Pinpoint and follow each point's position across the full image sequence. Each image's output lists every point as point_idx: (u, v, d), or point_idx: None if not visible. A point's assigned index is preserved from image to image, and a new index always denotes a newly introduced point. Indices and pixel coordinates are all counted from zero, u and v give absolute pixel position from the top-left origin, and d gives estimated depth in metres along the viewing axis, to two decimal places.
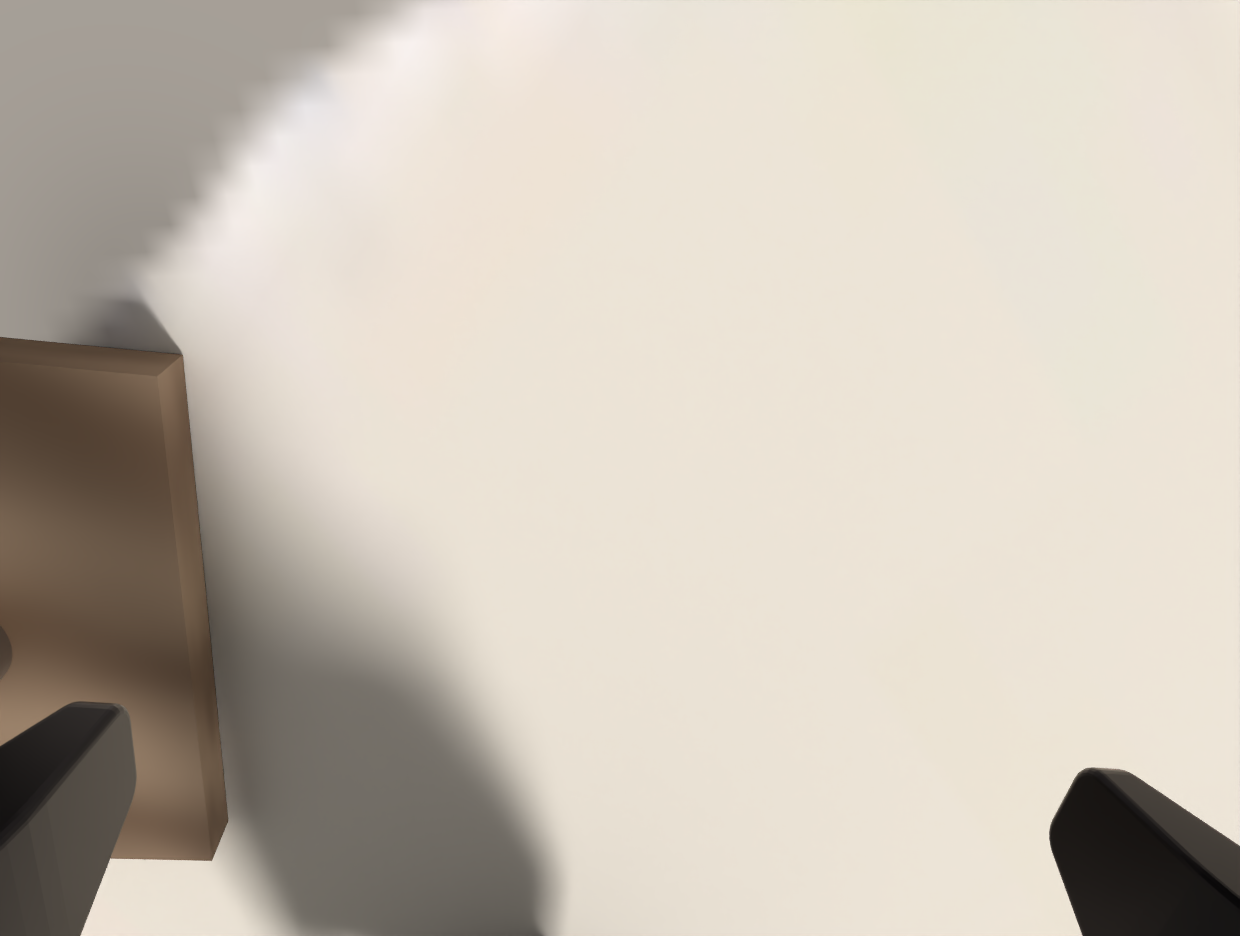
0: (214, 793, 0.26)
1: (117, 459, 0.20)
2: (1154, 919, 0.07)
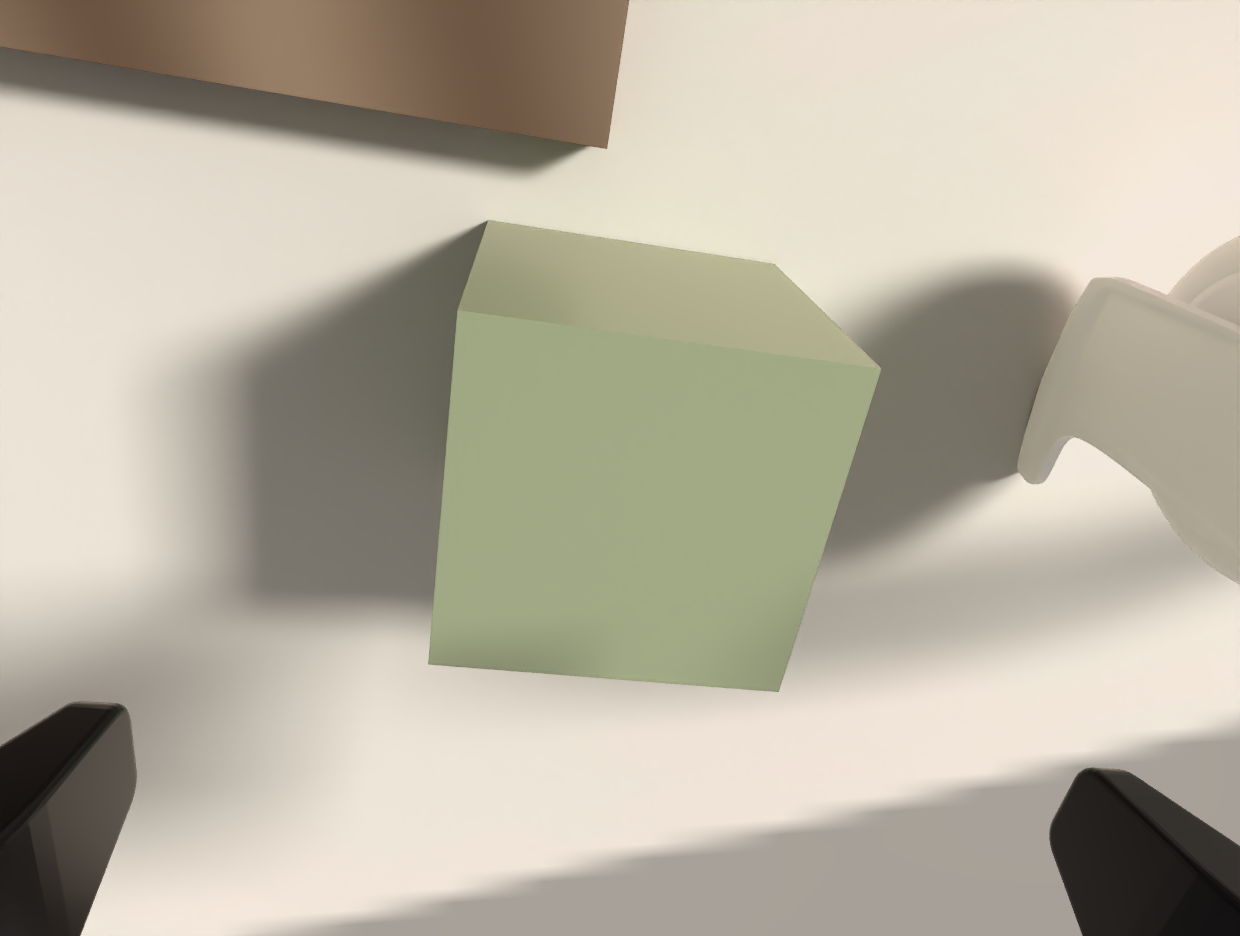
0: None
1: None
2: (1154, 919, 0.07)
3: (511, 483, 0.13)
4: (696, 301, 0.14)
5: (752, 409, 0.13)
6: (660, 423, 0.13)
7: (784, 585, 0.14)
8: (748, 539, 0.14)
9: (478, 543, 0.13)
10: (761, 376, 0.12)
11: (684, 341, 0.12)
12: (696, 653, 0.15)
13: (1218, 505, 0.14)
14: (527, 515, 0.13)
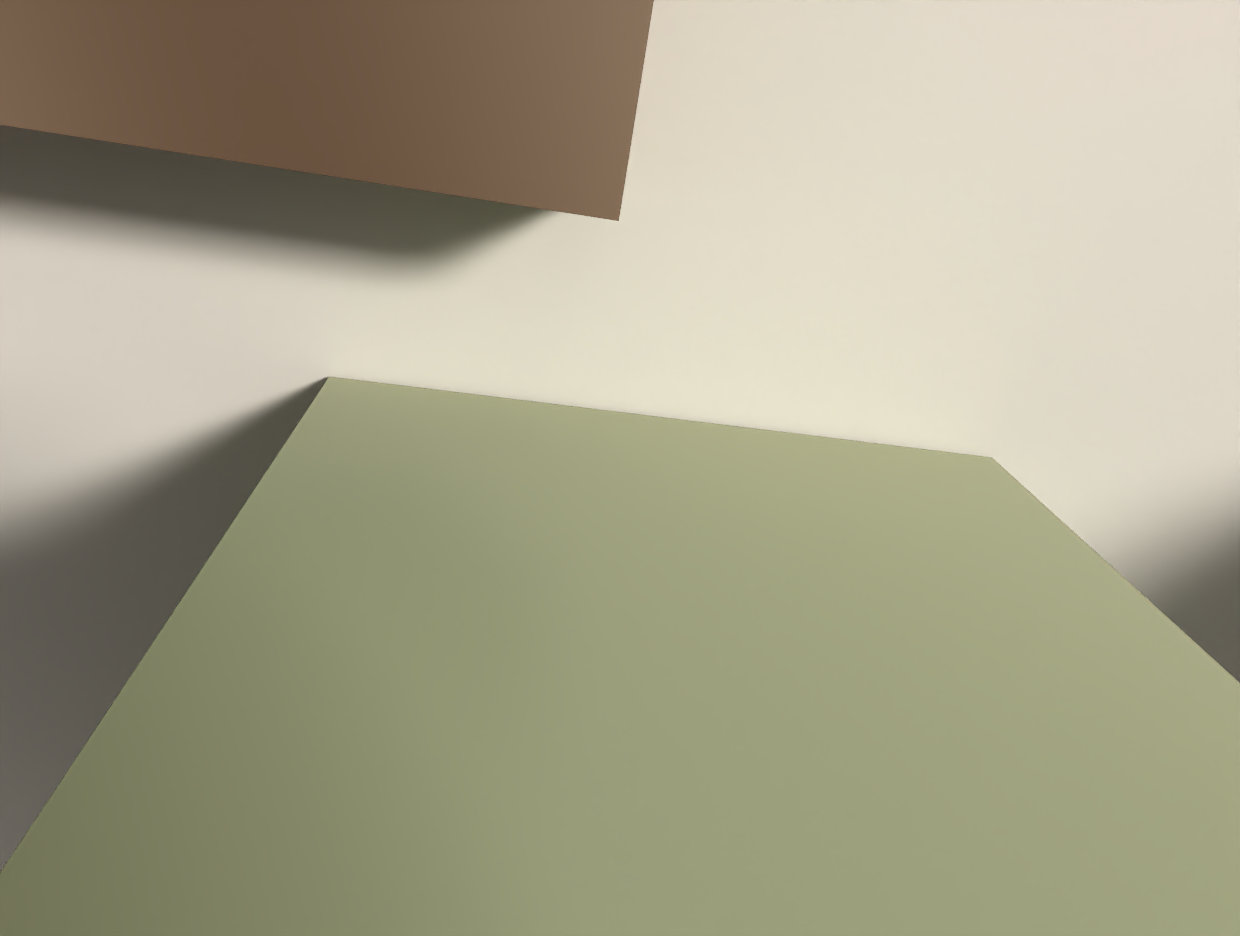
0: None
1: None
2: None
3: None
4: (943, 785, 0.04)
5: None
6: None
7: None
8: None
9: None
10: None
11: None
12: None
13: None
14: None
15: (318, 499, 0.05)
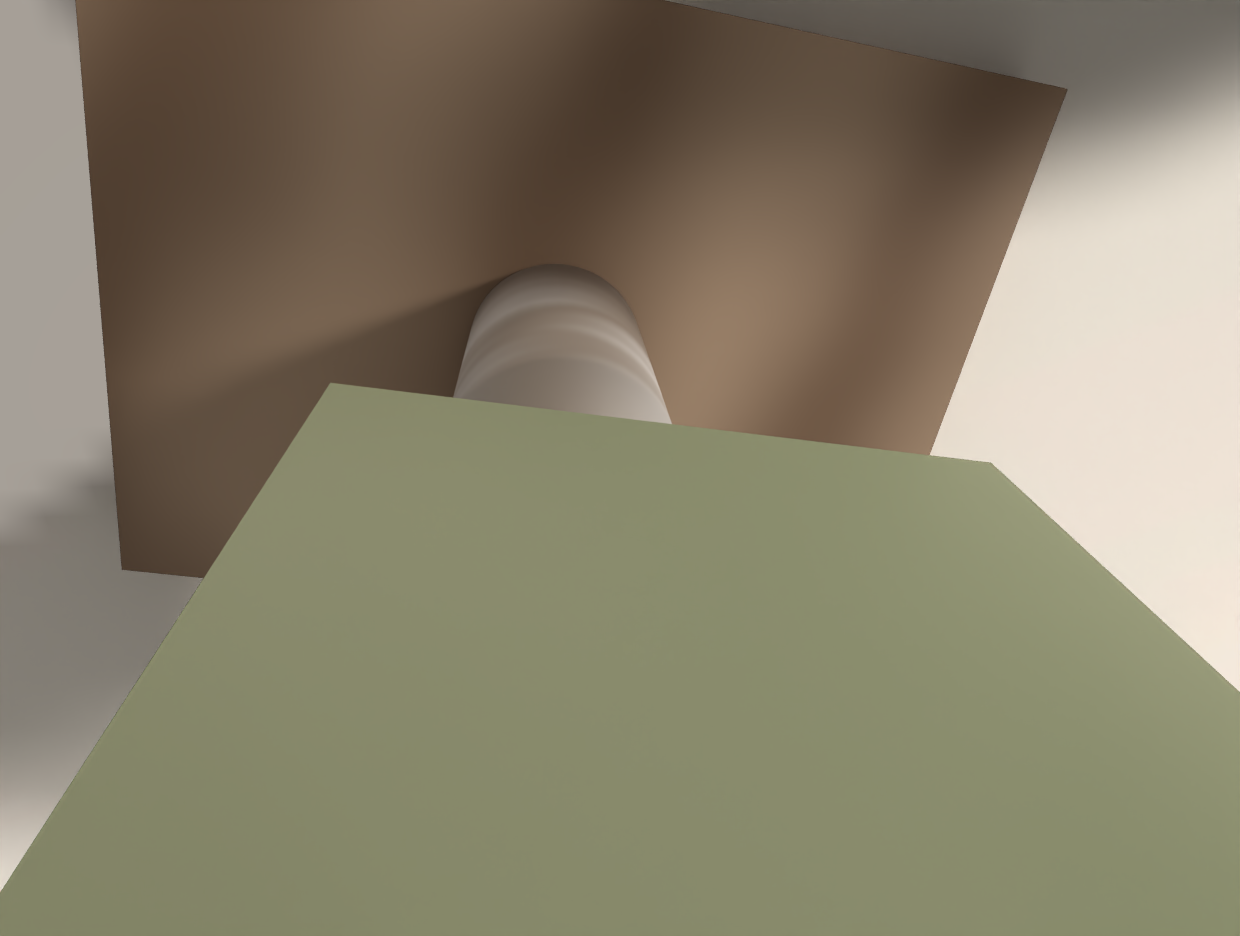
0: None
1: None
2: None
3: None
4: (942, 793, 0.04)
5: None
6: None
7: None
8: None
9: None
10: None
11: None
12: None
13: None
14: None
15: (320, 507, 0.05)
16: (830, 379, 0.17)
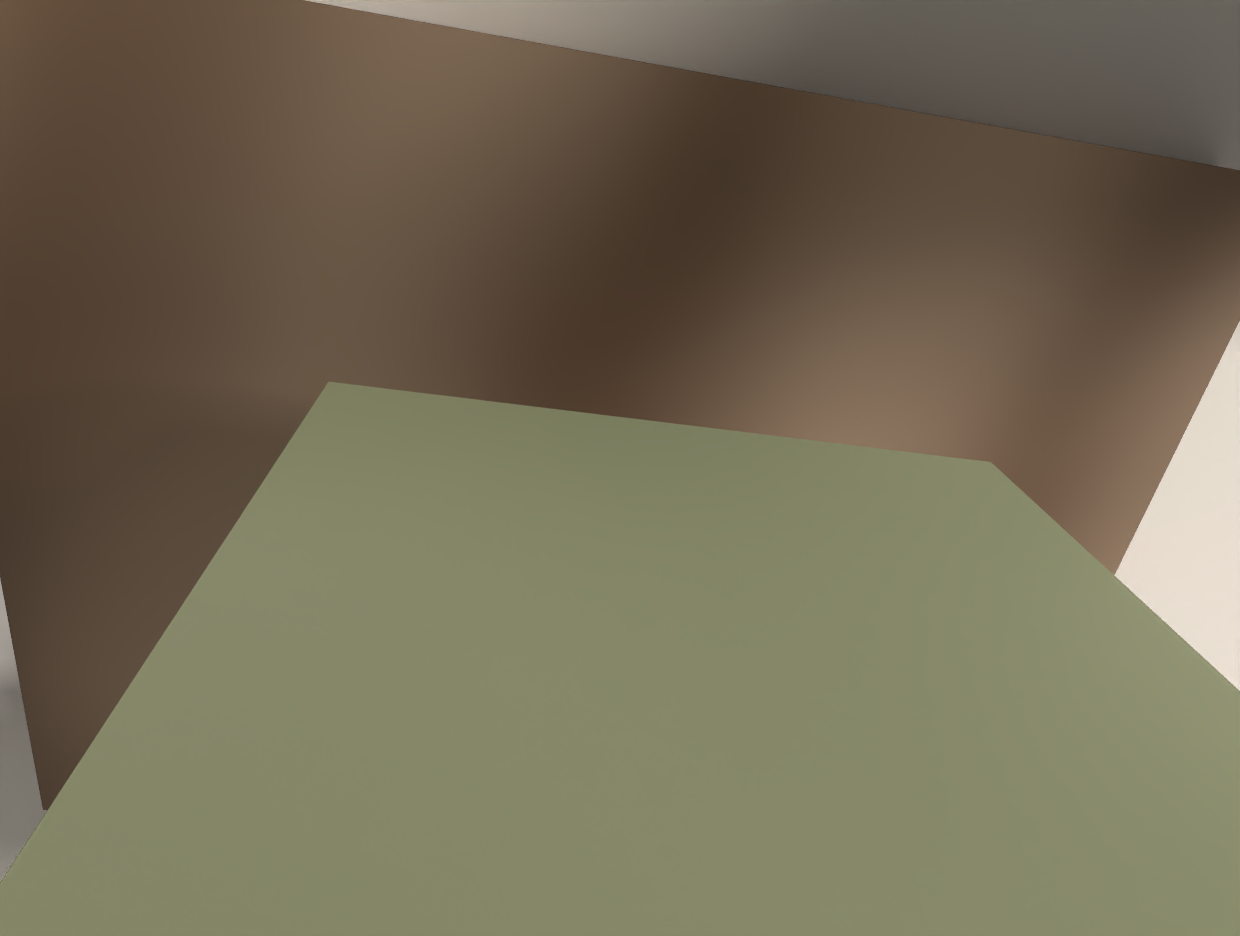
0: None
1: (133, 86, 0.09)
2: None
3: None
4: (941, 793, 0.04)
5: None
6: None
7: None
8: None
9: None
10: None
11: None
12: None
13: None
14: None
15: (317, 506, 0.05)
16: None
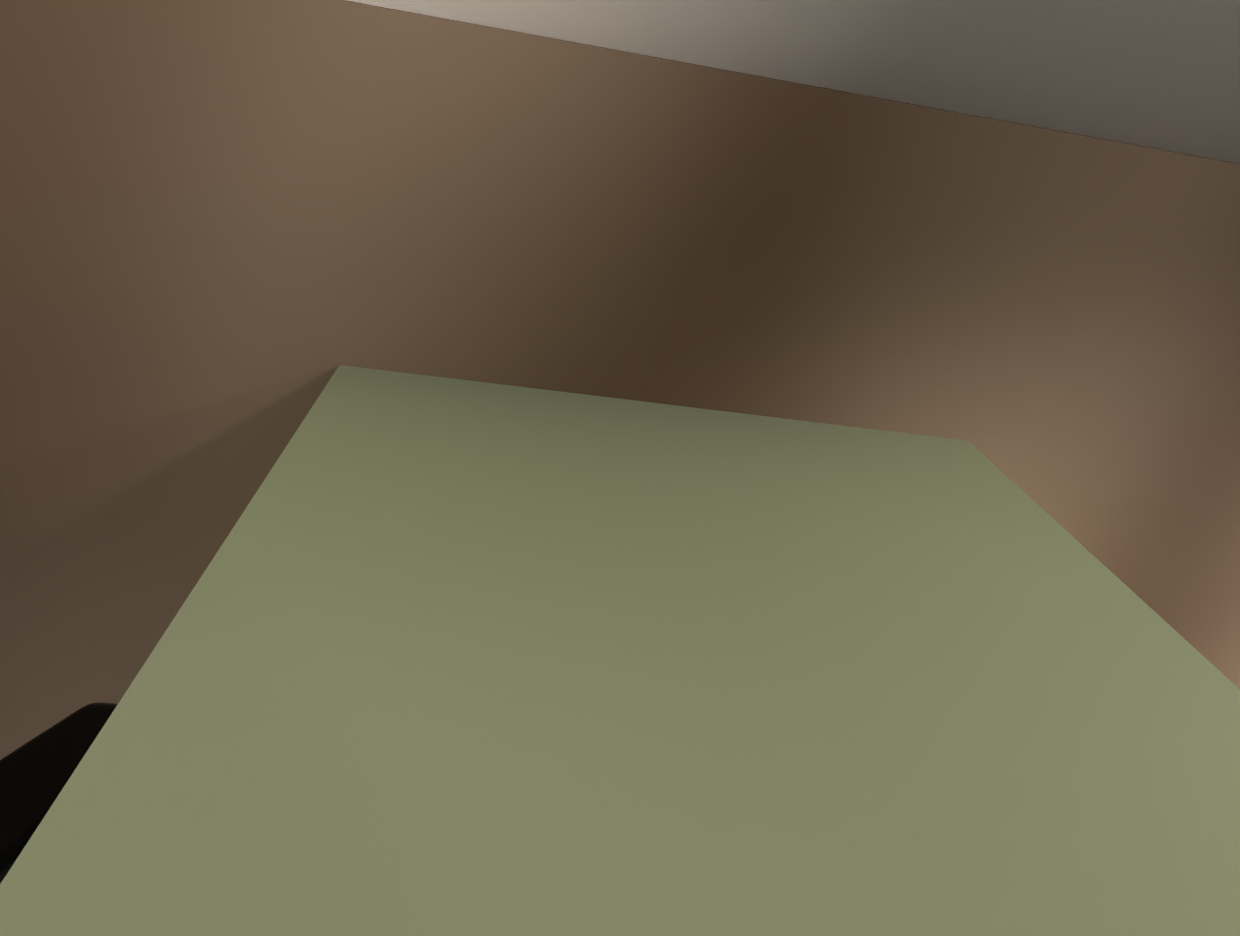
0: None
1: None
2: None
3: None
4: (902, 721, 0.04)
5: None
6: None
7: None
8: None
9: None
10: None
11: None
12: None
13: None
14: None
15: (333, 474, 0.06)
16: None
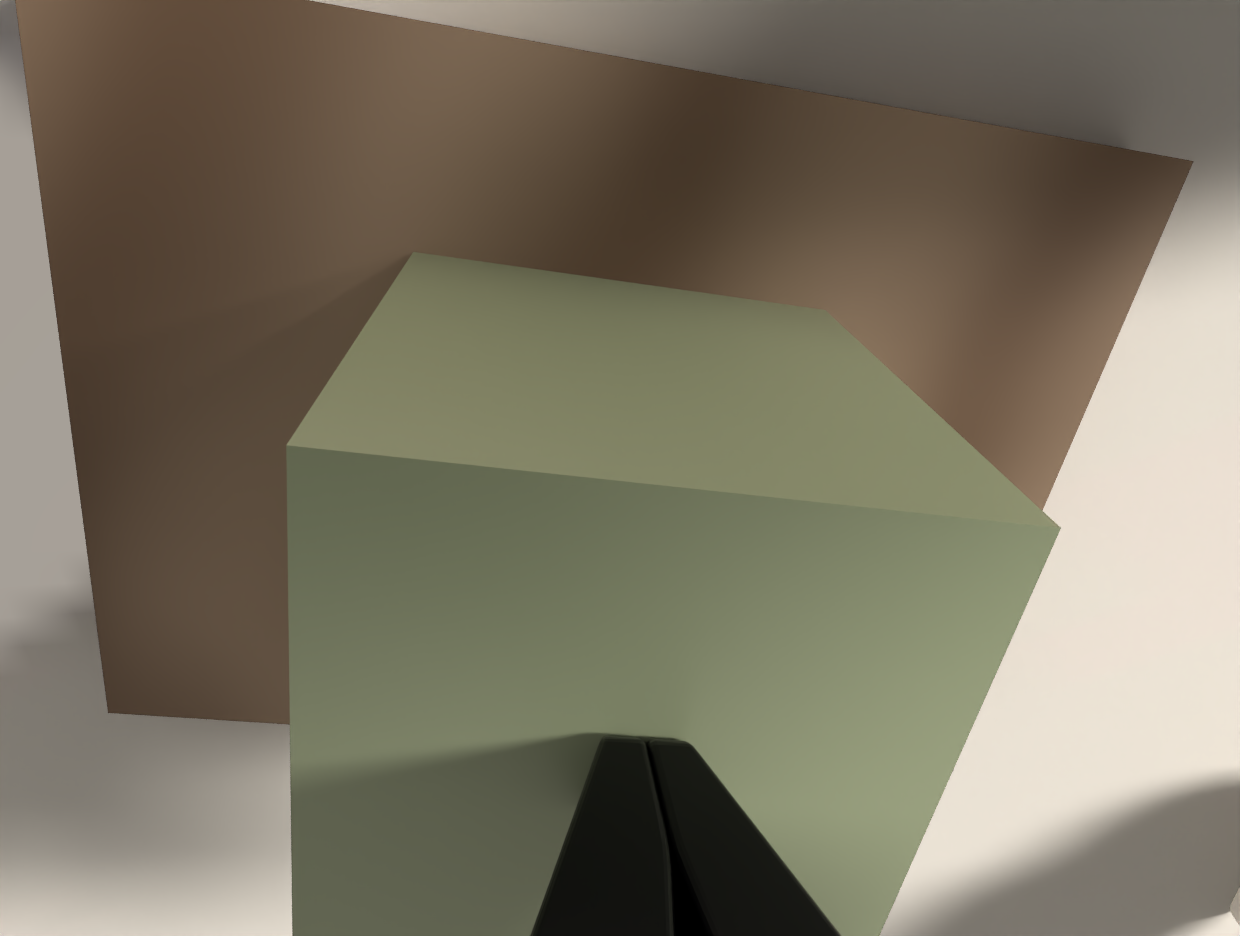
0: None
1: (207, 78, 0.11)
2: None
3: (410, 723, 0.07)
4: (723, 390, 0.09)
5: (830, 598, 0.07)
6: (668, 623, 0.07)
7: (871, 853, 0.09)
8: (815, 792, 0.08)
9: (360, 812, 0.08)
10: (848, 545, 0.07)
11: (711, 490, 0.07)
12: None
13: None
14: (441, 770, 0.08)
15: (422, 294, 0.10)
16: None
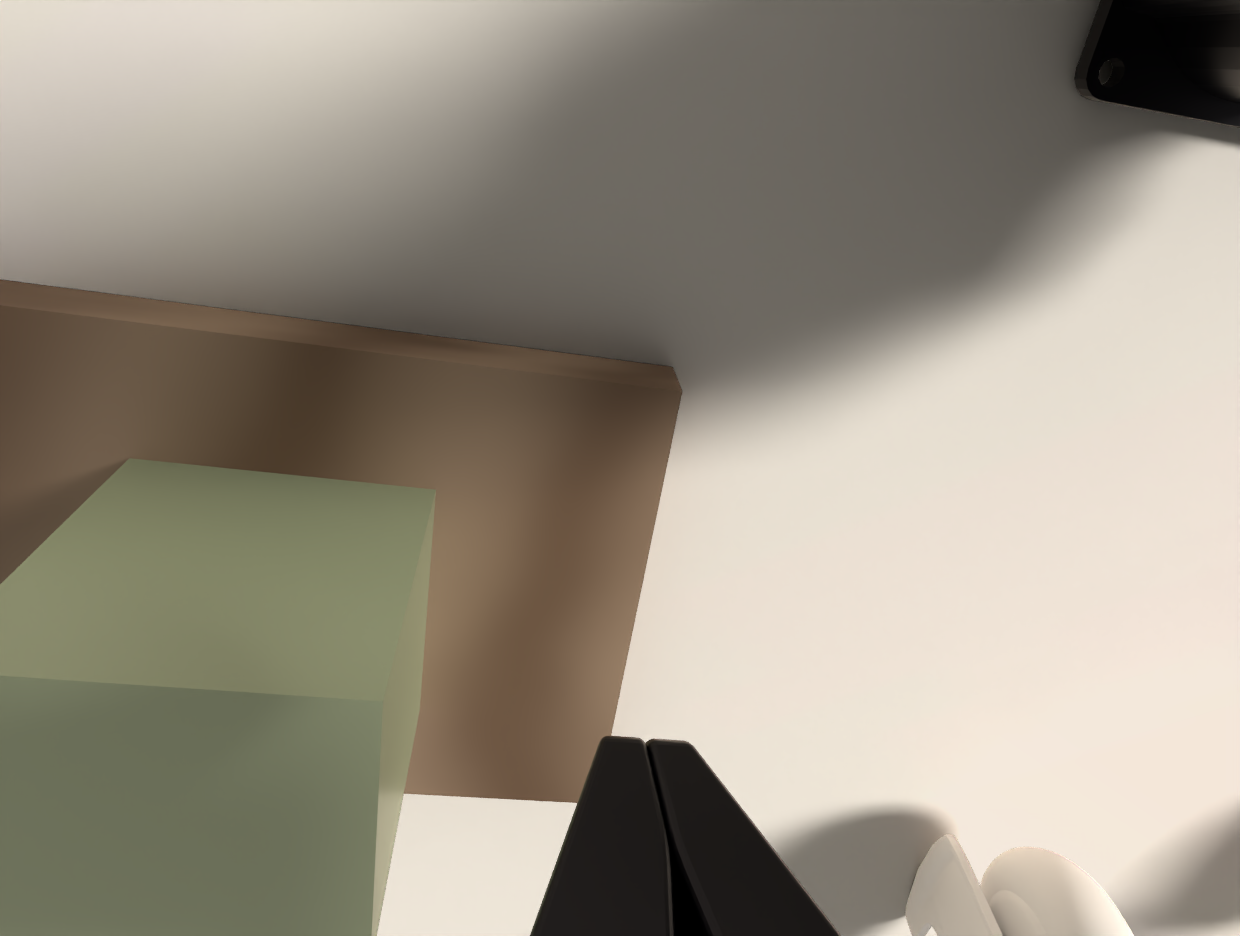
0: (580, 367, 0.18)
1: None
2: None
3: (22, 810, 0.13)
4: (257, 592, 0.14)
5: (257, 739, 0.12)
6: (163, 754, 0.12)
7: (344, 883, 0.14)
8: (292, 847, 0.13)
9: (5, 861, 0.13)
10: (257, 712, 0.12)
11: (165, 686, 0.12)
12: None
13: None
14: (49, 836, 0.13)
15: (101, 511, 0.15)
16: (527, 606, 0.20)
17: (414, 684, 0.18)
